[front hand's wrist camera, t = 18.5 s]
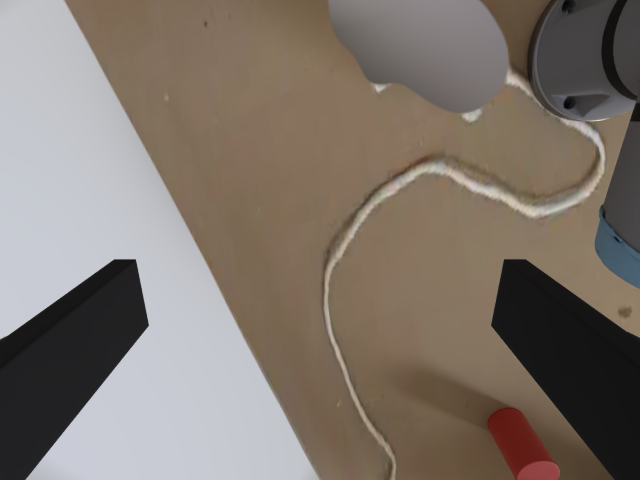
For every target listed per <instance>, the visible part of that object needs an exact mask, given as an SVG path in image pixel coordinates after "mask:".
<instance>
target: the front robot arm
mask: <svg viewBox="0 0 640 480" xmlns="http://www.w3.org/2000/svg"><path fill="white" fill-rule="evenodd" d="M528 75H529V80H530V84H531V87H532V89H533V92H534V94H535V95H536V97H537V99H538V100H539V102H540V103H541V104H542V105H543V106H544V107H545V108H546V109H547V110H548V111H550V112H551V113H553V114H554V115H556V116H559V117H561V118H564V119H568V120H574V121H600V120H605V119H609V118H613V117H616V116H618V115H621V114H624V113H626V112H629V111H631V110H633V113H632V116H631V120H630V122H629V125H628V129H627V132H626V135H625V138H624V141H623V144H622V148H621V151H620V154H619V157H618V160H617V163H616V167H615V170H614V173H613V176H612V179H611V182H610V185H609V189H608V192H607V195H606V198H605V201H604V204H603V205H602V206H601V207H600V210H599V217H600V222H599V226H598V230H597V234H596V238H595V250H596V253H597V254H598V256H599V258H600V259H601V261H602V263H603V264H604V265H605V266H606V267H607V268H608V269H609V270H610V271H612V272H613V273H614V274H615V275H617V276H618V277H620V278H621V279H623V280H624V281H626V282H628V283H629V284H631V285H633V286H635V287H637V288H639V289H640V0H552V1H551V2H550V3H549V4H548V6H547V7H546V9H545V10H544V12H543V13H542V15H541V17H540V19H539V21H538V23H537V25H536V27H535V29H534V32H533V35H532V38H531V42H530V46H529V52H528ZM148 326H149V324H148V319H147V314H146V308H145V303H144V298H143V293H142V288H141V283H140V278H139V273H138V268H137V263H136V260H135V259H114V260H113V261H111V262H110V263H109V264H107V265H106V266H104V267H103V268H102V269H100V270H99V271H98V272H96V273H95V274H93V275H92V276H91V277H89V278H88V279H86V280H85V281H84V282H82V283H81V284H79V285H78V286H77V287H75V288H74V289H72V290H71V291H70V292H68V293H67V294H65V295H64V296H63V297H61V298H60V299H58V300H57V301H56V302H54V303H53V304H52V305H50V306H49V307H47V308H46V309H45V310H43V311H42V312H40V313H39V314H38V315H36V316H35V317H33V318H32V319H31V320H29V321H28V322H26V323H25V324H24V325H22V326H21V327H19V328H18V329H17V330H15V331H14V332H12V333H11V334H10V335H8V336H6V337H4V338H2V339H0V480H26V478H27V477H28V476H29V475H30V473H31V472H32V471H33V470H34V468H35V467H36V466H37V465H38V463H39V462H40V461H41V459H42V458H43V457H44V456H45V455H46V453H47V452H48V451H49V450H50V448H51V447H52V446H53V445H54V443H55V442H56V441H57V439H58V438H59V437H60V436H61V435H62V433H63V432H64V431H65V430H66V428H67V427H68V426H69V425H70V423H71V422H72V421H73V420H74V418H75V417H76V416H77V415H78V413H79V412H80V411H81V410H82V408H83V407H84V406H85V405H86V403H87V402H88V401H89V400H90V398H91V397H92V396H93V395H94V393H95V392H96V391H97V390H98V388H99V387H100V386H101V385H102V383H103V382H104V381H105V380H106V378H107V377H108V376H109V375H110V373H111V372H112V371H113V370H114V368H115V367H116V366H117V365H118V363H119V362H120V361H121V360H122V358H123V357H124V356H125V355H126V353H127V352H128V351H129V350H130V348H131V347H132V346H133V345H134V343H135V342H136V341H137V340H138V338H139V337H140V336H141V335H142V333H143V332H144V331H145V330H146V329H147V327H148ZM491 326H492V327H493V329H494V330H495V331H496V332H497V334H498V335H499V336H500V337H501V339H502V340H503V341H504V342H505V344H506V345H507V346H508V347H509V348H510V350H511V351H512V352H513V353H514V355H515V356H516V357H517V358H518V360H519V361H520V362H521V363H522V365H523V366H524V367H525V368H526V370H527V371H528V372H529V373H530V375H531V376H532V377H533V378H534V380H535V381H536V382H537V383H538V385H539V386H540V387H541V388H542V390H543V391H544V392H545V393H546V395H547V396H548V397H549V398H550V400H551V401H552V402H553V403H554V405H555V406H556V407H557V408H558V410H559V411H560V412H561V413H562V415H563V416H564V417H565V418H566V420H567V421H568V422H569V423H570V425H571V426H572V427H573V428H574V430H575V431H576V432H577V433H578V435H579V436H580V437H581V438H582V440H583V441H584V442H585V443H586V445H587V446H588V447H589V448H590V450H591V451H592V452H593V453H594V455H595V456H596V457H597V458H598V460H599V461H600V462H601V463H602V465H603V466H604V467H605V468H606V470H607V471H608V472H609V473H610V475H611V476H612V477H613V478H614V480H640V338H639V337H637V336H635V335H633V334H631V333H629V332H626V331H625V330H623V329H622V328H621V327H619V326H618V325H616V324H615V323H614V322H612V321H611V320H609V319H608V318H607V317H605V316H604V315H602V314H601V313H600V312H598V311H597V310H596V309H594V308H593V307H591V306H590V305H589V304H587V303H586V302H584V301H583V300H582V299H580V298H579V297H577V296H576V295H575V294H573V293H572V292H570V291H569V290H568V289H566V288H565V287H563V286H562V285H561V284H559V283H558V282H556V281H555V280H554V279H552V278H551V277H549V276H548V275H547V274H545V273H544V272H542V271H541V270H540V269H538V268H537V267H536V266H534V265H533V264H531V263H530V262H529V261H527V260H526V259H504V263H503V268H502V273H501V278H500V283H499V288H498V293H497V298H496V303H495V308H494V313H493V319H492V324H491Z"/></svg>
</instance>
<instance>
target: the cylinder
mask: <svg viewBox="0 0 640 480" xmlns="http://www.w3.org/2000/svg"><path fill="white" fill-rule="evenodd" d="M488 428H489V430H490V432H491V434H492V436H493V438H494V440H495V441H496V443H497V445H498V447H499V449H500V451H501V453H502V455H503V456H504V458H505V460H506V462H507V464H508V466H509V468H510V470H511V471H512V473H513V475H514V477H515V479H516V480H558V478H559V476H560V469H559V467H558V466H557V464H556V463H555V461H554V460H553V458H552V457H551V455H550V454H549V452H548V451H547V449H546V448H545V446H544V445H543V443H542V442H541V440H540V439H539V437H538V436H537V434H536V433H535V432H534V430H533V429H532V427H531V426H530V424H529V423H528V421H527V420H526V418H525V417H524V415H523V414H522V413H521V412H520V411H519V410H516V409H512V408H506V409H502V410H499V411H497V412H495V413H494V414H493V415H492V416H491V417H490V419H489V421H488Z"/></svg>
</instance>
